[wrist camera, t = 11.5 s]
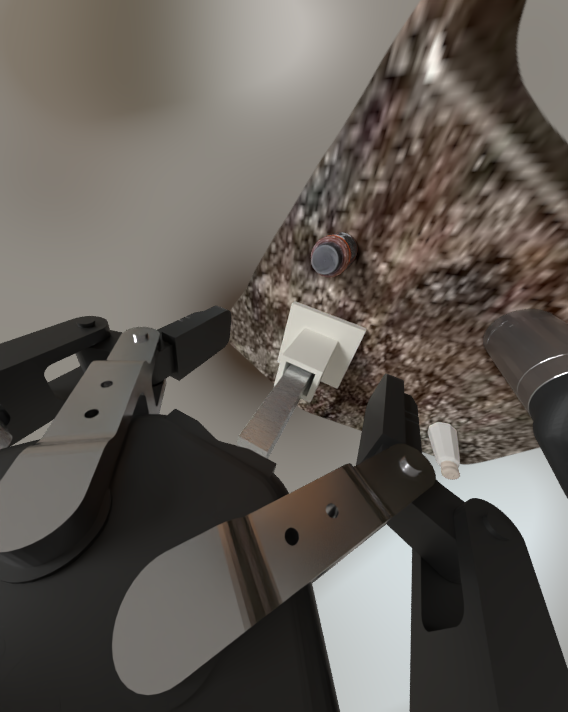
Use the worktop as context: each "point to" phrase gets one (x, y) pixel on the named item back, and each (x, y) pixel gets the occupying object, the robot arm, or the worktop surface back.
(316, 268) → the supplement bottle
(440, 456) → the pepper shaker
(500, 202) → the worktop surface
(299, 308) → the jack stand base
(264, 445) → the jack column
